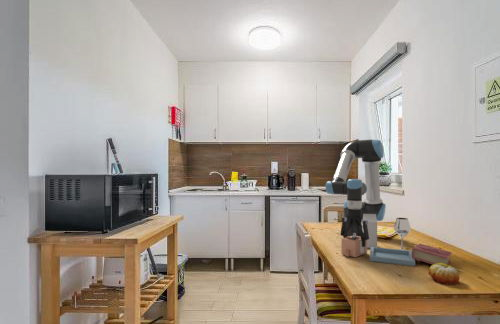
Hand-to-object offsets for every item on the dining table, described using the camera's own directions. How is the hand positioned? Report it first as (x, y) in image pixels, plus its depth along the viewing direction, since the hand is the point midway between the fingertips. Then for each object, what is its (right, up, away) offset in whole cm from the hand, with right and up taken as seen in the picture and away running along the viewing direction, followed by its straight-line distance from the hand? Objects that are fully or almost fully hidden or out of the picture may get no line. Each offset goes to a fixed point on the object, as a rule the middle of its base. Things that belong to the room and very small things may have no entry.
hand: (354, 251), depth 170 cm
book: (+33, -1, -14) cm, 35 cm away
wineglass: (+29, -2, +7) cm, 29 cm away
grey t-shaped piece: (0, -2, 0) cm, 2 cm away
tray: (+17, -2, -7) cm, 18 cm away
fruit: (+25, -2, -38) cm, 45 cm away
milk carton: (+14, -2, +16) cm, 21 cm away
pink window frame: (0, -1, 0) cm, 1 cm away
